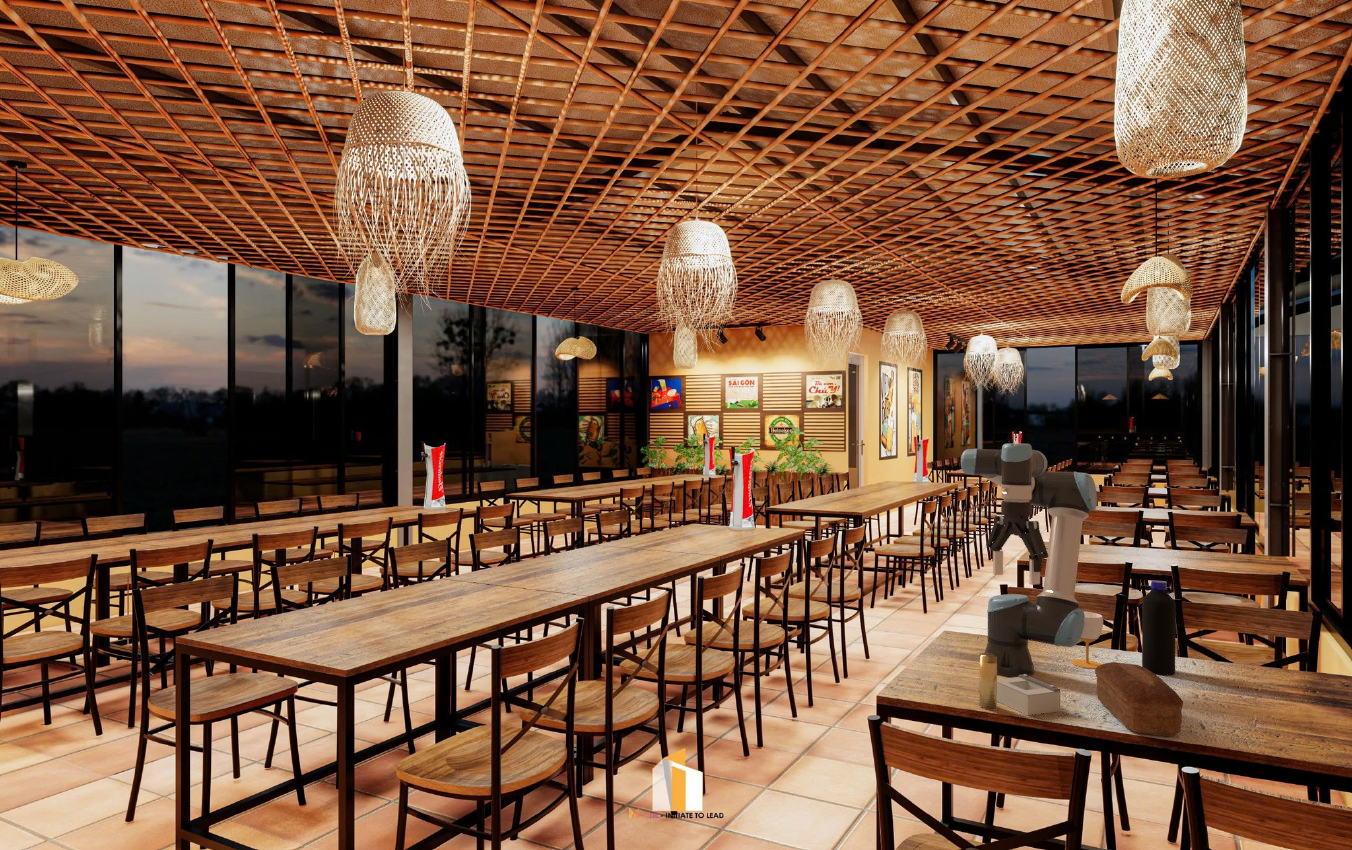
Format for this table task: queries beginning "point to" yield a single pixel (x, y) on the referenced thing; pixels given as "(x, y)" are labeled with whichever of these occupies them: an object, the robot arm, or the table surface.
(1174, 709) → the bread
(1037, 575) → the robot arm
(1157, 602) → the bottle
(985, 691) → the golden cylinder
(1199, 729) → the table surface
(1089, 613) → the cup
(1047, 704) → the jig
